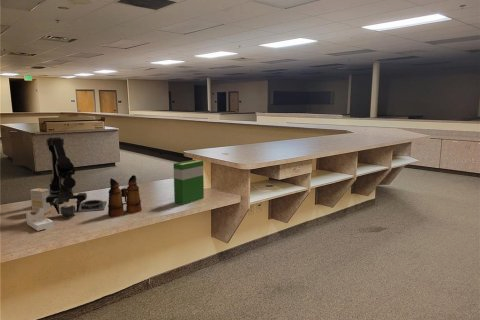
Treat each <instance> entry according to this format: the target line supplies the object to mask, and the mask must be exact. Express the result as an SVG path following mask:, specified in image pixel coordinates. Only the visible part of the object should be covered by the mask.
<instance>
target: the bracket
mask: <svg viewBox="0 0 480 320" xmlns="http://www.w3.org/2000/svg"><path fill="white" fill-rule="evenodd" d="M25 217H26V224H27V225H28V226H29V227H30V228H33V229H34V230H35V231H37V232H39V231H42V230H44V231H47V230H52V229H54V228H55V227H54V221H53V220H51V219H49V217H46V216H45V214H44V209H43V208H40V210H39V212H38V213H37V214H36V213H33V214H31V211H29V210H26V211H25Z"/></svg>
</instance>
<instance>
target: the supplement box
mask: <svg viewBox="0 0 480 320" xmlns="http://www.w3.org/2000/svg"><path fill="white" fill-rule="evenodd" d="M29 192H30V200H31V201H30V202H31V209H32V210H31V211H32V214H37V213H38V212H39V210H40V208H43V209H44V215H47V214H50V213H51V212H52V211H51V204H49V203H46V198H47V197H48V196H49V195H50V193H49V188H39V187H36V188H33V189H30V190H29Z"/></svg>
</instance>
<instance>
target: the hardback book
mask: <svg viewBox="0 0 480 320" xmlns="http://www.w3.org/2000/svg"><path fill="white" fill-rule="evenodd" d="M204 187H205V186H204V160H199V161H197V160H196V159H192V160H186V161H179V162H175V163H173V192H174V194H173V196H174V204H179V205H186V204H190V203H193V202H195V201H196V202H197V201H200V200H202V199H204V198H205V197H204V194H205V193H204V191H205V189H204Z"/></svg>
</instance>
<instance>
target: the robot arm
mask: <svg viewBox="0 0 480 320" xmlns="http://www.w3.org/2000/svg"><path fill="white" fill-rule="evenodd" d="M45 145H46V147H47V150H49V152H50V157H51V169H52V171H51V172H52V177H50V180H49V184H48V190H49V196H48V197H47V198H46V203H49V204H50V205H52V206H53V207H54V209H55V210H56V212H57V214H58V215H61V212H60V204H64V203H68V202H69V201H70V200H75V199H76V201H75V202H76V208H75V211H77V212H76V213H77V214H78V213H79V212H78V210H79V207H80V204H81V203H82V202H84V201H87V198H88V195H87V193H86V192H79V193H78V194H75V195H74V192H73V188H74V187H75V186H76V185H77V184H76V180H75V178H73V177H72V175H76V174H75V172H76V169H75V165H74V164H73V162H72V161H71V158H70V157H67V155H66V150H65V148H64V146H65V141H64V138H61V137H60V136H58V137H57V136H55V137H48V138H47V139H46V140H45Z"/></svg>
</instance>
